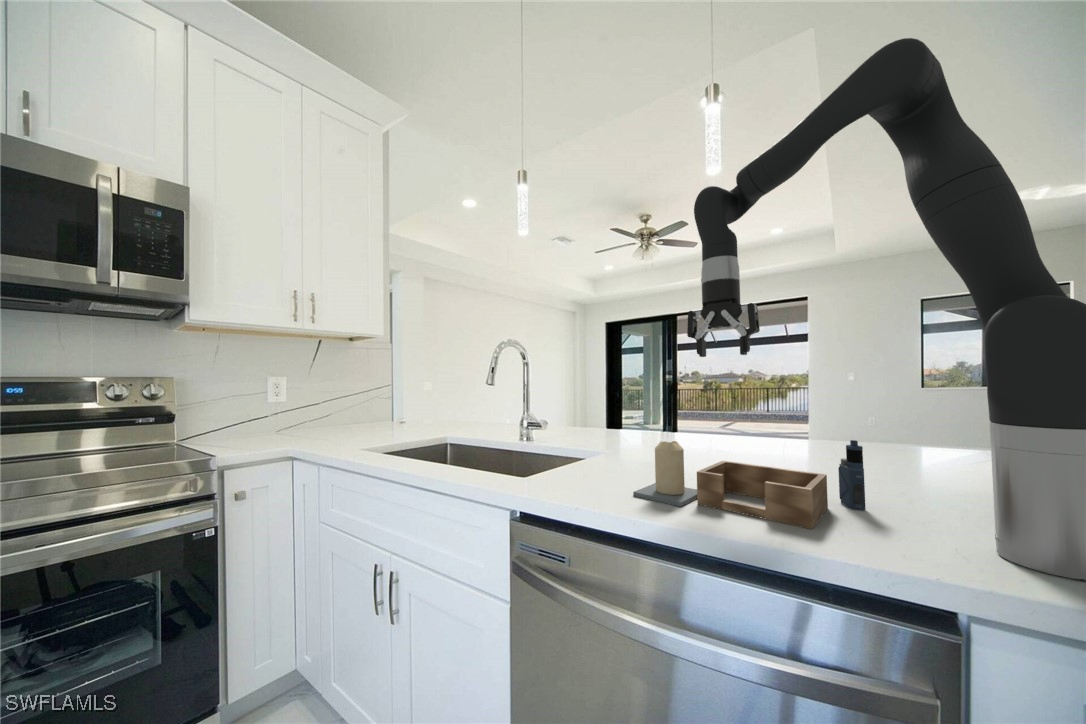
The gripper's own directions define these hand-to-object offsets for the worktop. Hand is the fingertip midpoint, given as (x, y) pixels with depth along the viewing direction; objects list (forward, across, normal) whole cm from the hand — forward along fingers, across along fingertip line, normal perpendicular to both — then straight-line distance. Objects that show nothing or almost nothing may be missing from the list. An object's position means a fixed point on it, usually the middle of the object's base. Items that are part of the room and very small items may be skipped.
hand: (722, 355), depth 86 cm
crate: (+28, -9, +8) cm, 31 cm away
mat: (+28, +6, +13) cm, 32 cm away
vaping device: (+28, -21, -3) cm, 35 cm away
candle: (+28, +6, +13) cm, 31 cm away
